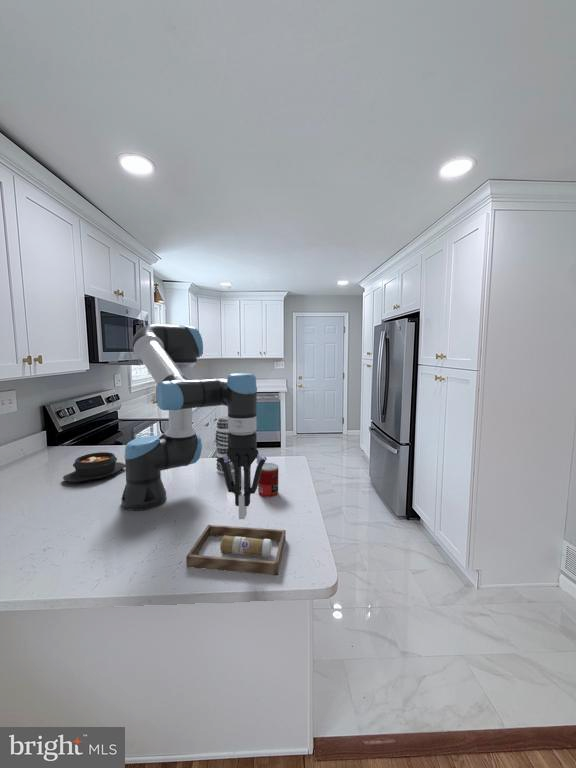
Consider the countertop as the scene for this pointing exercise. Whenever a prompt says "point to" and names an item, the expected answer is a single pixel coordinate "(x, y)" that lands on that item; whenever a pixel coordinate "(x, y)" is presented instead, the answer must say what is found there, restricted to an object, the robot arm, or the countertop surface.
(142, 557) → the countertop surface
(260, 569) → the frame
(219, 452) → the decorative candle
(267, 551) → the sprinkles bottle
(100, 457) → the casserole
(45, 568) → the countertop surface
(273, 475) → the canned food
